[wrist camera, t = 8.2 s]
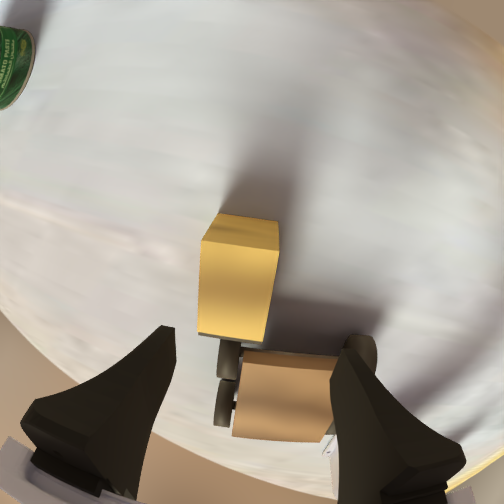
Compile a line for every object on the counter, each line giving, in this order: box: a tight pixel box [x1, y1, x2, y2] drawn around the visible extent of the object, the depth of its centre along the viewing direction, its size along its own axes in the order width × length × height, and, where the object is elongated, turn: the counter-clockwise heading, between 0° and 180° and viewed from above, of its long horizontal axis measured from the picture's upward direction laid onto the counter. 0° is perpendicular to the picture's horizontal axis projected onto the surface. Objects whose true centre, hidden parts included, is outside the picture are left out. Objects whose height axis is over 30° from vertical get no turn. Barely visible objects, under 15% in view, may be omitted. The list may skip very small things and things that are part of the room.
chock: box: [197, 213, 279, 345], centre depth 19 cm, size 7×4×5 cm, turn 173°
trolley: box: [214, 335, 377, 443], centre depth 23 cm, size 11×11×5 cm
